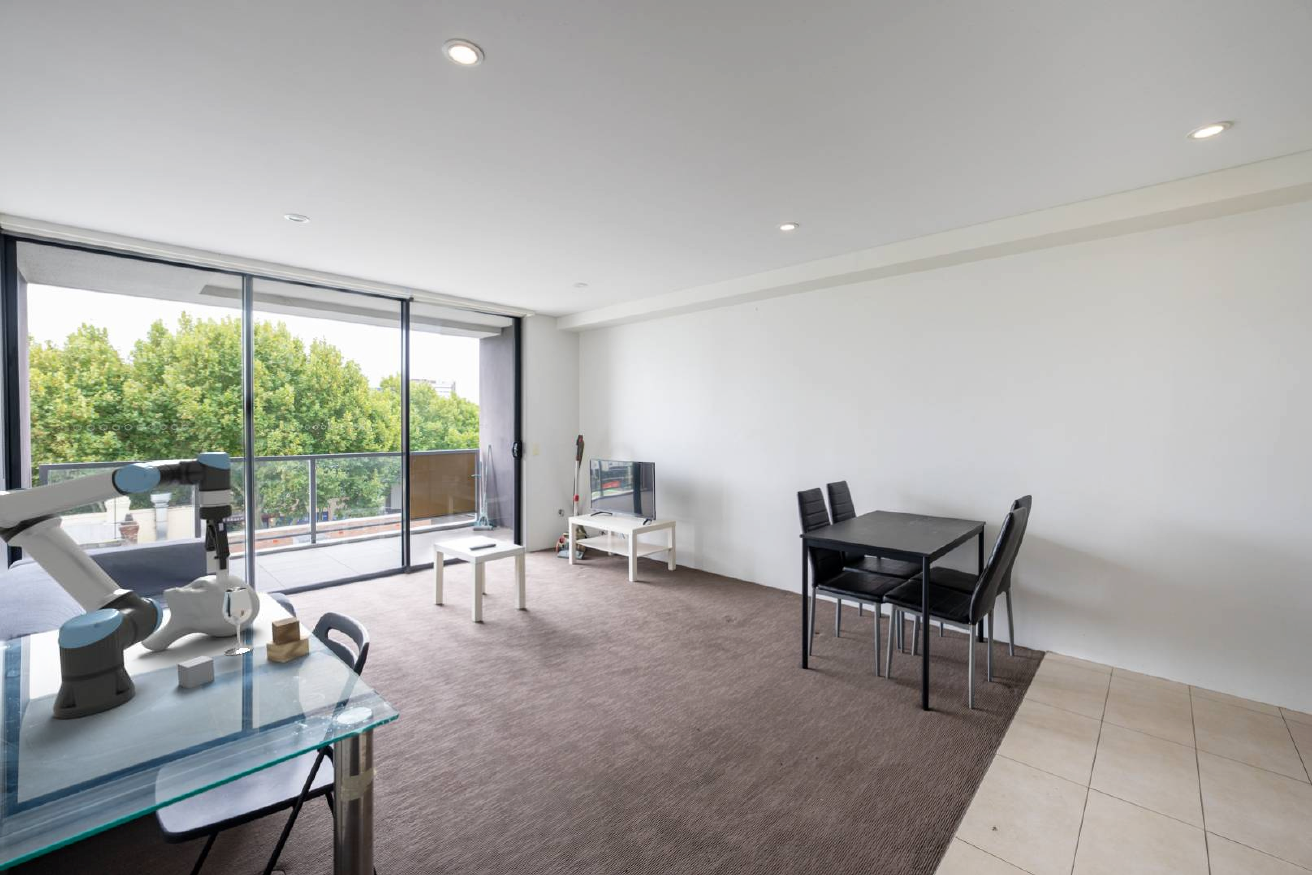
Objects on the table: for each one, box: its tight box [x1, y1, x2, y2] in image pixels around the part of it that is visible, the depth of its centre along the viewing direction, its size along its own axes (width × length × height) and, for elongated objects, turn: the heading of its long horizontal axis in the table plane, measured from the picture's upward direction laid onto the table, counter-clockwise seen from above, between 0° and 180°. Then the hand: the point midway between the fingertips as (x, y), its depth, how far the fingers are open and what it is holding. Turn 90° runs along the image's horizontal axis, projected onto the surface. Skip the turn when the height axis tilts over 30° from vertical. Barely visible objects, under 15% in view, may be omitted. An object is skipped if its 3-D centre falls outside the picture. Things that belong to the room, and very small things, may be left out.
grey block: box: [177, 655, 215, 689], centre depth 157 cm, size 6×6×6 cm
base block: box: [265, 635, 310, 663], centre depth 173 cm, size 8×8×5 cm
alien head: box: [140, 573, 261, 652], centre depth 189 cm, size 21×25×32 cm
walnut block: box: [271, 616, 301, 646], centre depth 173 cm, size 6×6×6 cm
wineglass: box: [222, 587, 254, 656], centre depth 178 cm, size 8×8×20 cm
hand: (217, 576), depth 163 cm, fingers open, 13 cm apart
